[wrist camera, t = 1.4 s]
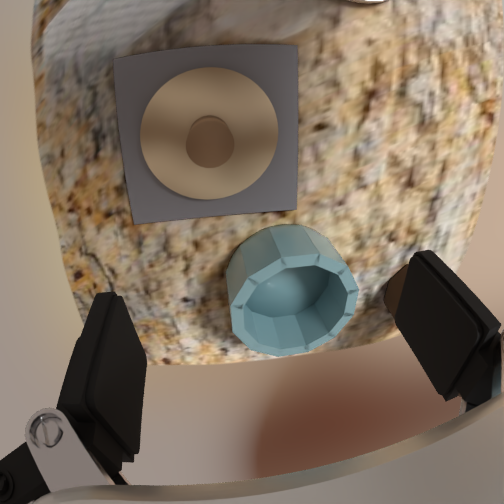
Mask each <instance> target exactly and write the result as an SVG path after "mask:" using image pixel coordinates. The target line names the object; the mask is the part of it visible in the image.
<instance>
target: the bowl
mask: <svg viewBox="0 0 504 504" xmlns="http://www.w3.org/2000/svg"><path fill="white" fill-rule="evenodd" d="M226 282H227V292H228V302H229V309H230V316H231V324H232V331H233V333H234V334H235V335H236V336H237V337H238V338H239V339H240V340H241V341H242V342H243V343H244V344H245V345H246V346H247V347H248V348H249V349H250V350H253V351H257V352H261V353H265V354H269V355H273V356H278V357H279V356H286V355H292V354H299V353H305V352H309V351H311V350H313V349H314V348H316V347H318V346H320V345H322V344H324V343H325V342H327V341H329V340H331V339H333V338H334V337H335V336H336V335H337V334H338V333H339V332H340V331H341V329H342V328H343V327H344V326H345V325H346V323H347V322H348V321H349V320H350V319H351V317H352V316H353V315H354V310H355V306H356V301H357V296H358V292H359V288H358V286H357V284H356V282H355V280H354V278H353V276H352V274H351V272H350V270H349V268H348V266H347V264H346V263H345V261H344V260H343V259H342V257H341V256H340V255H339V253H338V252H337V250H336V249H335V248H334V246H333V245H332V244H331V242H330V241H329V240H328V238H327V237H325V236H323V235H321V234H320V233H319V232H317V231H315V230H314V229H311V228H309V227H306V226H302V225H297V224H281V225H275V226H271V227H268V228H265V229H263V230H260V231H259V232H257V233H255V234H253V235H252V236H250V237H249V238H248V239H246V240H245V241H244V242H243V243H242V244H241V245H240V246H239V247H238V248H237V250H236V251H235V253H234V254H233V256H232V258H231V260H230V262H229V265H228V268H227V270H226Z"/></svg>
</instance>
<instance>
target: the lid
mask: <svg viewBox="0 0 504 504" xmlns="http://www.w3.org/2000/svg"><path fill="white" fill-rule="evenodd" d="M140 141H141V148H142V152H143V155H144V158H145V161H146V163H147V165H148V167H149V168H150V170H151V171H152V173H153V174H154V175H155V176H156V177H157V179H158V180H159V181H160V182H162V183H163V184H164V185H165V186H166V187H168V188H169V189H171V190H173V191H175V192H177V193H179V194H181V195H184V196H187V197H190V198H195V199H205V200H208V199H219V198H224V197H228V196H231V195H234V194H236V193H239V192H240V191H242V190H244V189H246V188H247V187H249V186H250V185H251V184H253V183H254V182H255V181H256V180H257V179H258V178H259V177H260V176H261V175H262V174H263V173H264V171H265V170H266V169H267V167H268V166H269V164H270V162H271V160H272V158H273V156H274V153H275V150H276V146H277V141H278V122H277V117H276V113H275V110H274V108H273V105H272V103H271V102H270V100H269V98H268V96H267V95H266V94H265V92H264V91H263V90H262V89H261V88H260V87H259V86H258V85H257V84H256V83H255V82H253V81H252V80H251V79H249V78H248V77H246V76H244V75H242V74H240V73H238V72H235V71H233V70H229V69H225V68H217V67H204V68H198V69H193V70H190V71H186V72H184V73H182V74H180V75H177V76H176V77H174V78H172V79H171V80H169V81H168V82H167V83H165V84H164V85H163V86H162V87H161V88H160V89H159V90H158V91H157V92H156V93H155V95H154V96H153V97H152V99H151V100H150V102H149V104H148V106H147V107H146V110H145V112H144V115H143V118H142V123H141V130H140Z"/></svg>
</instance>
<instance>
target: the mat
mask: <svg viewBox="0 0 504 504" xmlns="http://www.w3.org/2000/svg"><path fill="white" fill-rule="evenodd" d="M204 67H217V68H225V69H229V70H233V71H235V72H238V73H240V74H242V75H244V76H246V77H248V78H249V79H251V80H252V81H253V82H255V83H256V84H257V85H258V86H259V87H260V88H261V89H262V90H263V91H264V92H265V94H266V95H267V96H268V98H269V100H270V102H271V103H272V105H273V108H274V110H275V113H276V117H277V122H278V141H277V146H276V150H275V153H274V156H273V158H272V160H271V162H270V164H269V166H268V167H267V169H266V170H265V171H264V173H263V174H262V175H261V176H260V177H259V178H258V179H257V180H256V181H255V182H254V183H253V184H251V185H250V186H249V187H247V188H246V189H244V190H242V191H240V192H239V193H236V194H234V195H231V196H228V197H224V198H219V199H208V200H205V199H195V198H190V197H187V196H184V195H181V194H179V193H177V192H175V191H173V190H171V189H169V188H168V187H166V186H165V185H164V184H163V183H162V182H160V181H159V180H158V179H157V177H156V176H155V175H154V174H153V173H152V171H151V170H150V168H149V167H148V165H147V163H146V161H145V158H144V155H143V152H142V148H141V141H140V130H141V123H142V118H143V115H144V112H145V110H146V107H147V106H148V104H149V102H150V100H151V99H152V97H153V96H154V95H155V93H156V92H157V91H158V90H159V89H160V88H161V87H162V86H163V85H164V84H165V83H167V82H168V81H169V80H171V79H172V78H174V77H176V76H177V75H180V74H182V73H184V72H186V71H190V70H193V69H198V68H204ZM113 69H114V84H115V97H116V107H117V117H118V126H119V134H120V142H121V150H122V157H123V164H124V170H125V177H126V183H127V189H128V195H129V200H130V206H131V211H132V216H133V221H134V225H135V224H144V223H153V222H162V221H171V220H181V219H191V218H201V217H211V216H222V215H233V214H245V213H257V212H270V211H283V210H297V176H298V49H297V45H281V44H232V45H212V46H198V47H188V48H178V49H170V50H162V51H155V52H149V53H143V54H137V55H131V56H126V57H121V58H116V59H113Z"/></svg>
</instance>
